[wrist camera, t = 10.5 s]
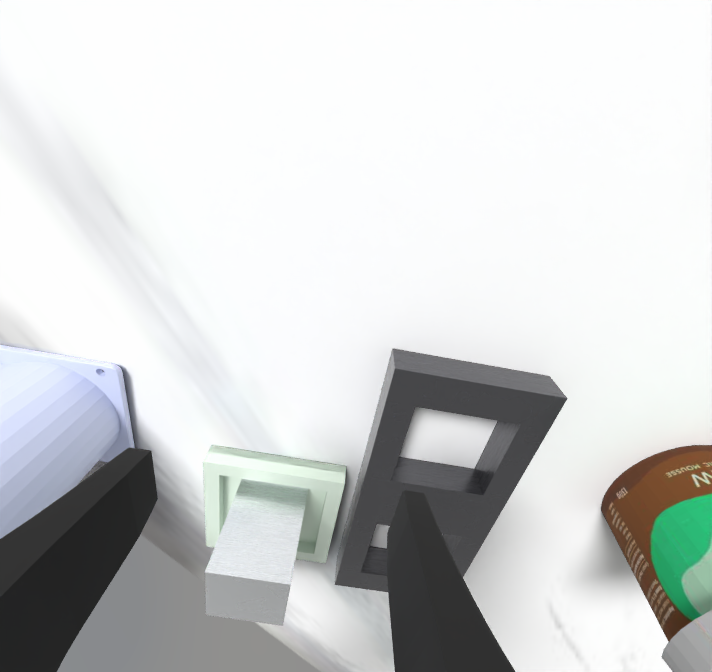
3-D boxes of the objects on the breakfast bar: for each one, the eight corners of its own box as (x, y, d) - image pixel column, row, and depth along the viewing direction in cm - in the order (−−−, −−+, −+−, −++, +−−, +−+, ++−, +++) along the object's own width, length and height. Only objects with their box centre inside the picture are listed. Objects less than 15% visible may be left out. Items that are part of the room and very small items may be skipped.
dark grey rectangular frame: (337, 557, 28) (334, 584, 27) (392, 348, 19) (394, 368, 17) (444, 573, 29) (449, 600, 27) (549, 376, 19) (567, 398, 18)
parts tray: (213, 528, 27) (206, 546, 26) (212, 444, 23) (202, 461, 22) (327, 545, 28) (325, 563, 26) (346, 466, 23) (344, 483, 22)
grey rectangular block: (240, 518, 25) (205, 615, 20) (242, 477, 23) (204, 572, 18) (300, 528, 26) (282, 625, 20) (308, 487, 24) (290, 584, 18)
